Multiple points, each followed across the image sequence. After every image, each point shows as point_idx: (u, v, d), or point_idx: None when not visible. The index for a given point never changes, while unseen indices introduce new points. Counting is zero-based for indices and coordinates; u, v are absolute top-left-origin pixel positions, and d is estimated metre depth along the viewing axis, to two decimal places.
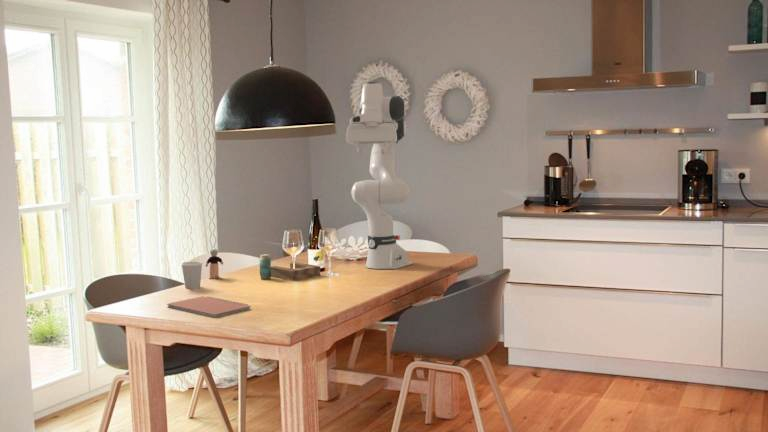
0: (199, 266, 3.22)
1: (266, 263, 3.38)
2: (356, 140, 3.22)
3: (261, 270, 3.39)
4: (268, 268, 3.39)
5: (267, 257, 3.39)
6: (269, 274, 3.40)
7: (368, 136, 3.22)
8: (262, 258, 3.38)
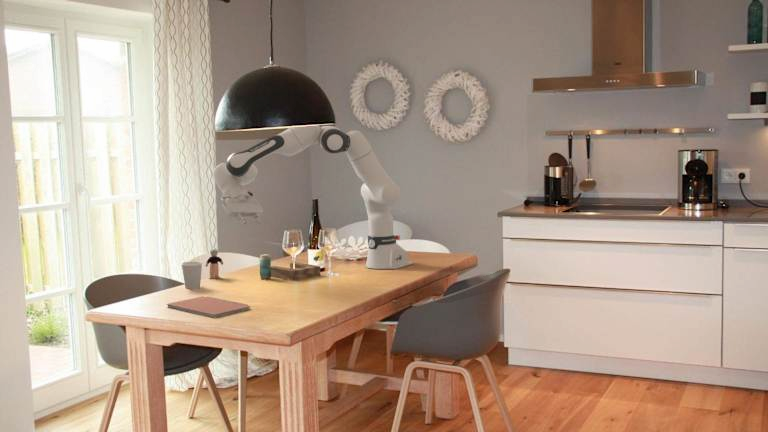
0: (199, 266, 3.22)
1: (266, 263, 3.38)
2: None
3: (261, 270, 3.39)
4: (268, 268, 3.39)
5: (267, 257, 3.39)
6: (269, 274, 3.40)
7: None
8: (262, 258, 3.38)
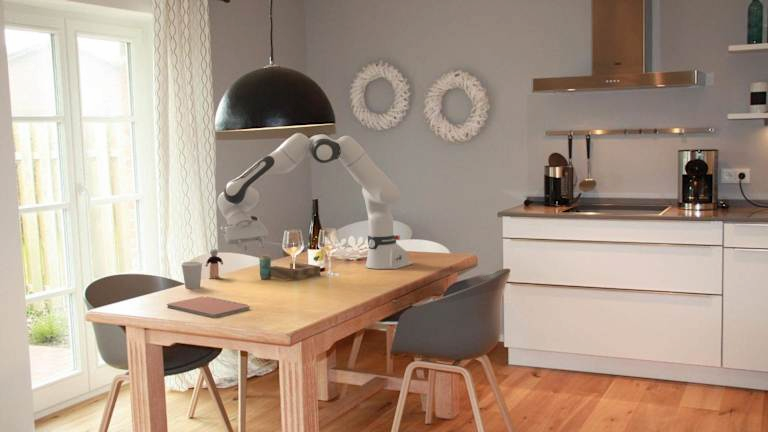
0: (199, 266, 3.22)
1: (266, 263, 3.38)
2: None
3: (261, 270, 3.39)
4: (268, 268, 3.39)
5: (267, 257, 3.39)
6: (269, 274, 3.40)
7: None
8: (262, 258, 3.38)
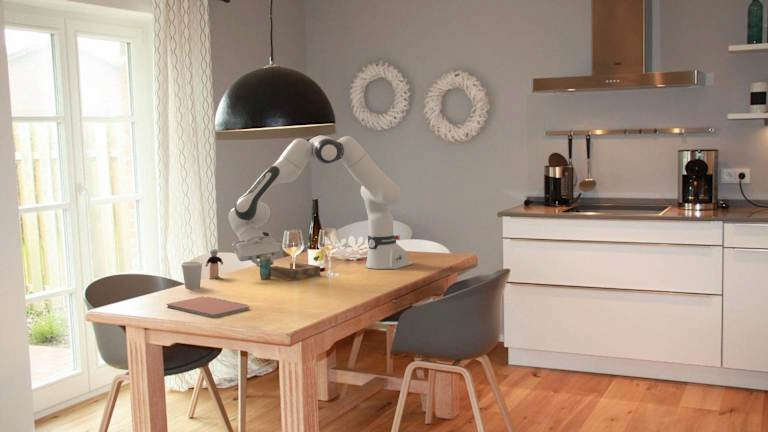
0: (199, 266, 3.22)
1: (266, 263, 3.38)
2: None
3: (261, 270, 3.39)
4: (268, 268, 3.39)
5: (267, 257, 3.39)
6: (269, 274, 3.40)
7: None
8: (262, 258, 3.38)
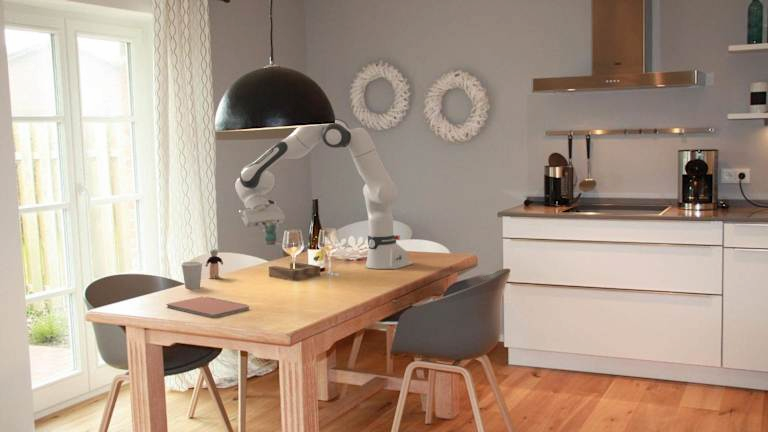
0: (199, 266, 3.22)
1: (271, 229, 3.53)
2: None
3: (267, 236, 3.54)
4: (273, 234, 3.54)
5: (272, 223, 3.54)
6: (274, 239, 3.55)
7: None
8: (268, 224, 3.53)
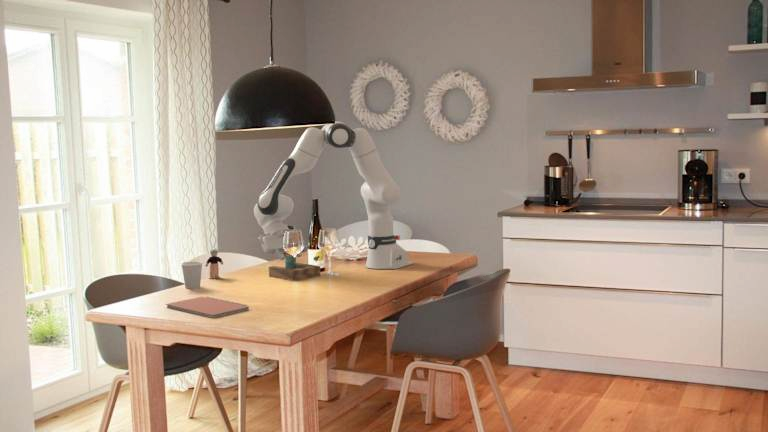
0: (199, 266, 3.22)
1: (292, 260, 3.45)
2: None
3: (287, 267, 3.46)
4: (293, 265, 3.46)
5: None
6: None
7: None
8: (288, 255, 3.45)
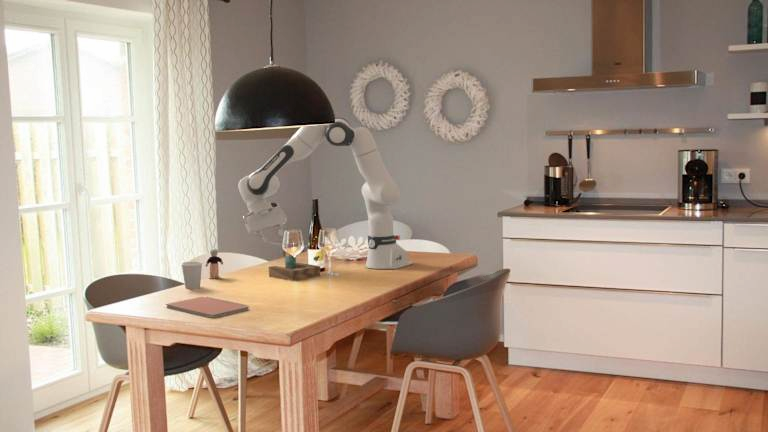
0: (199, 266, 3.22)
1: (292, 260, 3.45)
2: None
3: (287, 267, 3.46)
4: (293, 265, 3.46)
5: None
6: None
7: None
8: (288, 255, 3.45)
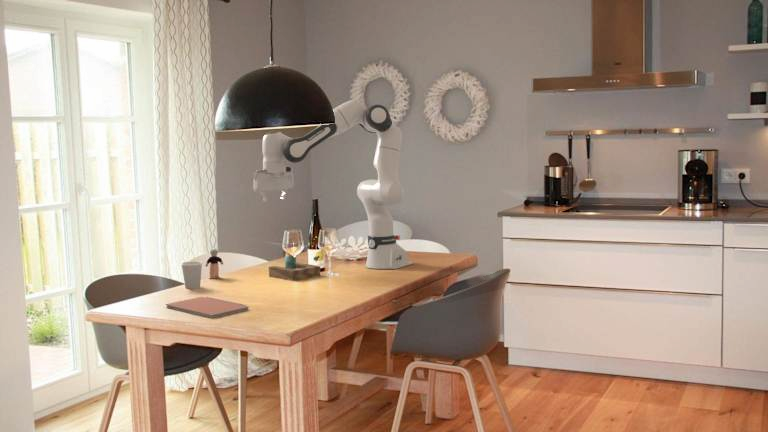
0: (199, 266, 3.22)
1: (292, 260, 3.45)
2: None
3: (287, 267, 3.46)
4: (293, 265, 3.46)
5: None
6: None
7: None
8: (288, 255, 3.45)
